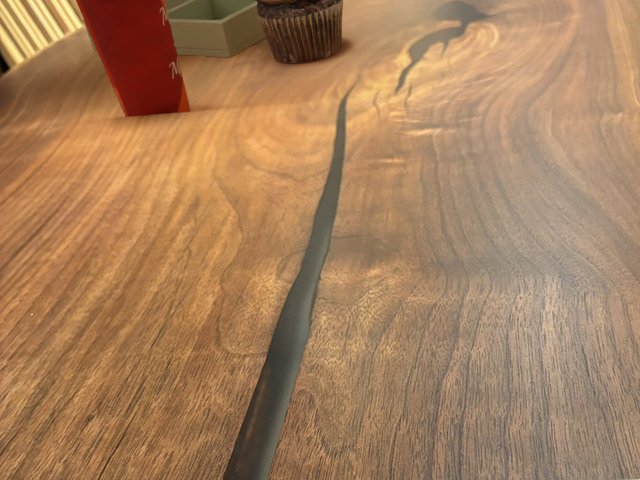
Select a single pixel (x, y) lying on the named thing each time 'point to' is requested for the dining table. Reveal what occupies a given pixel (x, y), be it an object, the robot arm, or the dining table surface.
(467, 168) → the dining table surface
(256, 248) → the dining table surface
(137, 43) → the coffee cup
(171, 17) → the holder
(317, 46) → the cupcake
